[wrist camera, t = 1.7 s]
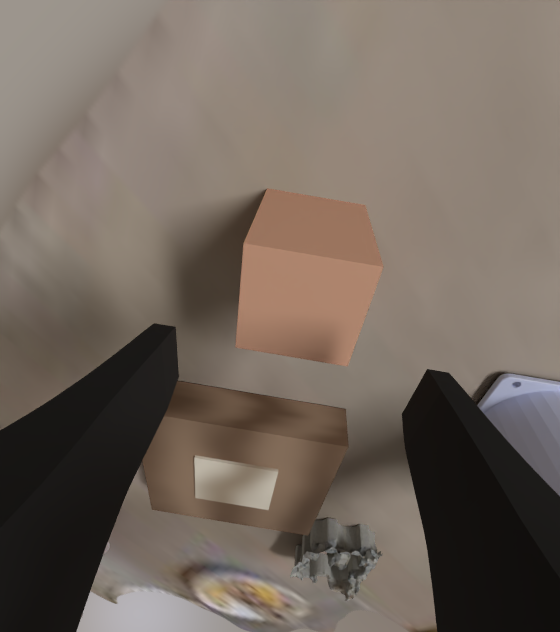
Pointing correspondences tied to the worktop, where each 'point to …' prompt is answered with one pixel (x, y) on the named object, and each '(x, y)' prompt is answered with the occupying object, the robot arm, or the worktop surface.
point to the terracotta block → (307, 277)
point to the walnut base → (244, 457)
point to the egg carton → (337, 555)
